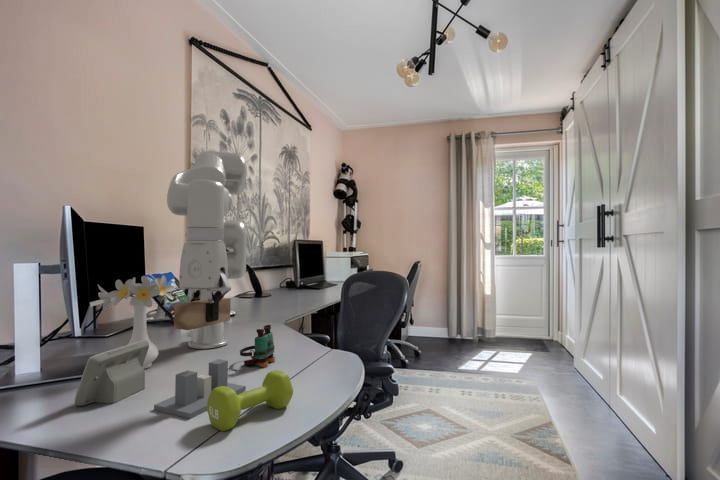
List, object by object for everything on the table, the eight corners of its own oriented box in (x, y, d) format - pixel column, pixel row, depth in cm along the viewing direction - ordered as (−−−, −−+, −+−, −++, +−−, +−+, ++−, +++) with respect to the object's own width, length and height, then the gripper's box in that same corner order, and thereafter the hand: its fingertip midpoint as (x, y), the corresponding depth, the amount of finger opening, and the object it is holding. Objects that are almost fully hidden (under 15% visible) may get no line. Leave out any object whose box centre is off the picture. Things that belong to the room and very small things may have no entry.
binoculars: (247, 325, 115) (277, 323, 113) (249, 360, 115) (280, 359, 113) (231, 331, 106) (264, 329, 104) (234, 369, 106) (267, 368, 104)
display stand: (153, 409, 78) (154, 375, 78) (212, 384, 92) (212, 355, 93) (190, 418, 74) (191, 382, 74) (245, 390, 89) (246, 360, 89)
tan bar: (174, 328, 79) (174, 304, 79) (216, 318, 90) (217, 297, 90) (188, 330, 77) (188, 305, 77) (230, 320, 88) (230, 298, 88)
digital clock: (135, 380, 95) (135, 337, 95) (161, 385, 91) (162, 341, 92) (62, 405, 80) (64, 354, 80) (90, 412, 76) (92, 359, 77)
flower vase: (93, 368, 104) (95, 276, 104) (167, 356, 115) (169, 273, 116) (98, 381, 94) (100, 279, 94) (179, 367, 105) (180, 276, 106)
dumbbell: (224, 438, 67) (224, 396, 67) (201, 424, 72) (202, 385, 72) (296, 408, 79) (297, 374, 79) (273, 398, 84) (273, 365, 85)
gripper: (163, 236, 84) (161, 320, 83) (222, 236, 77) (221, 326, 77) (190, 237, 91) (189, 314, 90) (247, 237, 84) (246, 320, 84)
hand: (203, 319), depth 84 cm, fingers closed on tan bar, 4 cm apart
